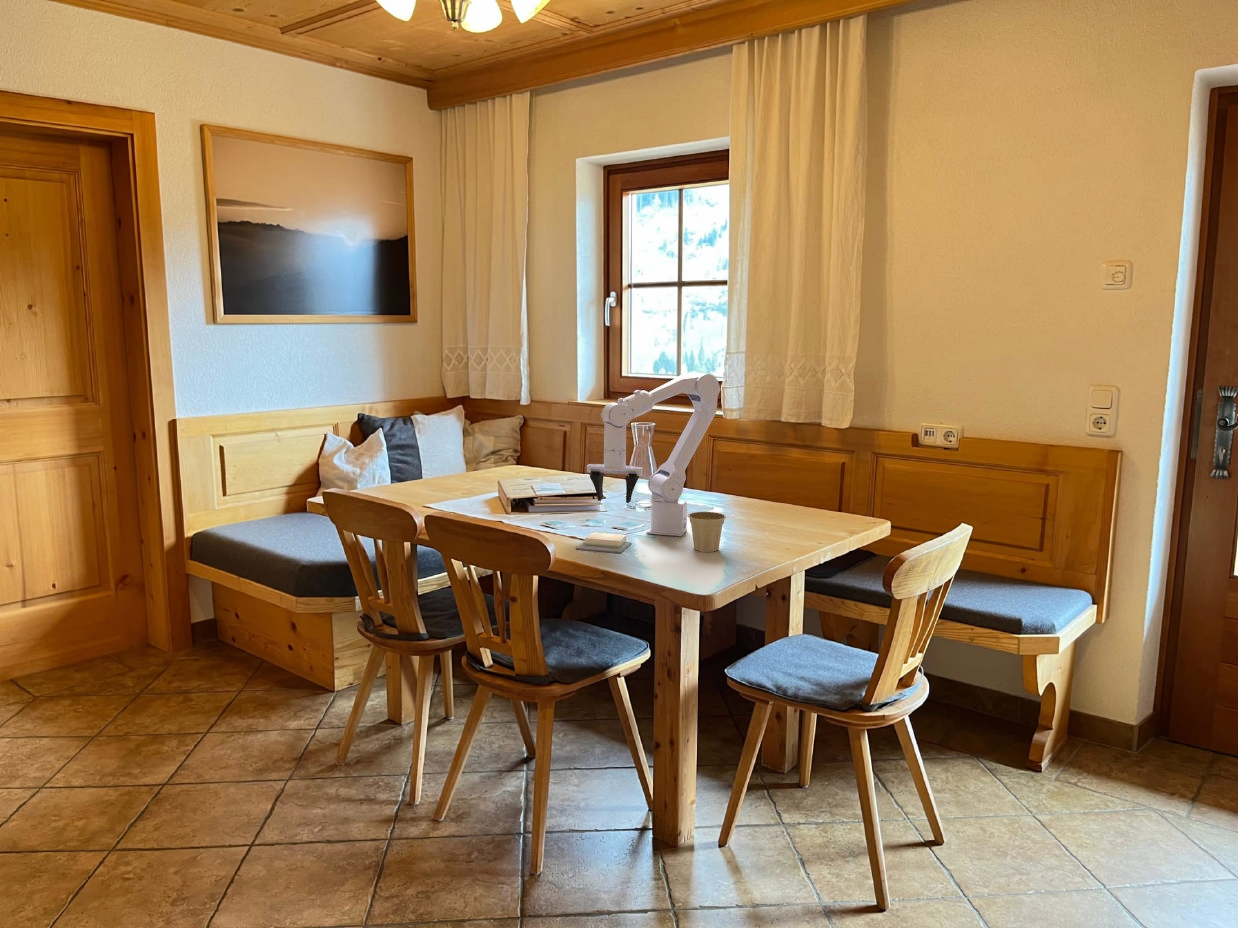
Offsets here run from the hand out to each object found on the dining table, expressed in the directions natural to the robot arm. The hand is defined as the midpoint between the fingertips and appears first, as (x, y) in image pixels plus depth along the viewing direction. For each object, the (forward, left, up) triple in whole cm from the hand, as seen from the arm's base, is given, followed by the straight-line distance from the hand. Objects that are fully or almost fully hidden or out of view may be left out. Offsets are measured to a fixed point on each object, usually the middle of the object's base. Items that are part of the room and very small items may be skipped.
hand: (614, 501), depth 242 cm
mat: (-1, +11, -9) cm, 15 cm away
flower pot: (-26, +5, -10) cm, 28 cm away
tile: (0, +6, -8) cm, 10 cm away
